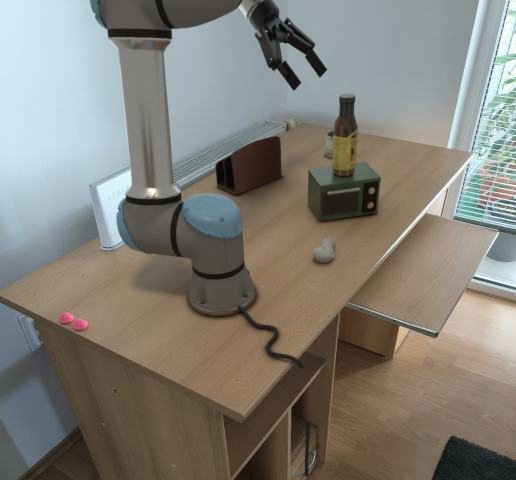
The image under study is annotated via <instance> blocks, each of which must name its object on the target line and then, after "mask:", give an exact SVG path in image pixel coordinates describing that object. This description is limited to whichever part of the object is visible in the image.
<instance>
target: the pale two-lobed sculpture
mask: <svg viewBox="0 0 516 480" xmlns="http://www.w3.org/2000/svg"><path fill="white" fill-rule="evenodd" d="M336 247H337V244H336V241H335V239H334V238H333V237H326V238H324V239H323V240H322V242H321V245H320V246H318V247H315V248H314V249H313V251H312V258H313V259H314V260H315V261H316V262H317V263H322V264H325V263H329V262H330V261H331V260H333V259H334V258H335V249H336Z"/></svg>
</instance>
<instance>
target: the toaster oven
mask: <svg viewBox="0 0 516 480" xmlns="http://www.w3.org/2000/svg"><path fill="white" fill-rule="evenodd" d="M332 170H333V167H332V165H329V166H322V167H314V168H313V167H312V168H308V169H307V204H308V206H309V208H310V209H311V211H312V212H313V214H314V215H315V217H316V219H317V220H318V222H321V223H325V222H327V221H331V220H337V219H345V218H352V217H358V216H359V217H361V216H366V215H368V216H373V215H375V214H378V207H379V199H380V189H381V181H382V178H381V176H380V175H379V173H377V172H376V170H374V169H373V168H372V167H371V166H370V165H369V163H367V161H358V162H355V170H354V173H353V174H352V175H350V176H346V177H343V176H342V177H341V176H336V175H334V174H333V171H332Z"/></svg>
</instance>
